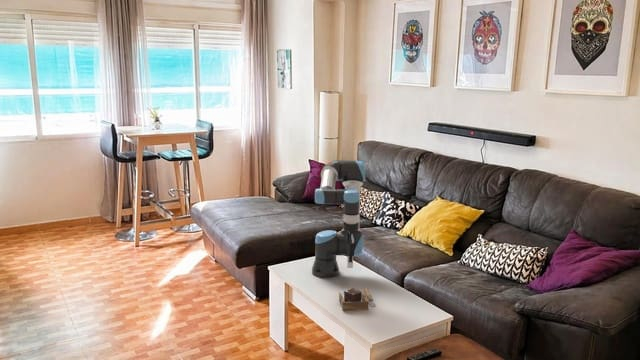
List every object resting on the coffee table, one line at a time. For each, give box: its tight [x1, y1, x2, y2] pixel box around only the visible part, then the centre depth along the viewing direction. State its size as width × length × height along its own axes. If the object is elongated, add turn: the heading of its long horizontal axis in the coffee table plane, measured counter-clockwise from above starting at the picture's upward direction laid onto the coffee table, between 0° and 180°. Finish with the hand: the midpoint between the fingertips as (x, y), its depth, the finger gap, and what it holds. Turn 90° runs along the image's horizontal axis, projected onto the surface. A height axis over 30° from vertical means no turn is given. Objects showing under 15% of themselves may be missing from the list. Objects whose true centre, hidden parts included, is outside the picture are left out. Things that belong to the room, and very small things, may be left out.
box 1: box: [343, 287, 363, 302], centre depth 244 cm, size 6×6×7 cm
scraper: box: [363, 287, 376, 308], centre depth 252 cm, size 17×2×2 cm, turn 7°
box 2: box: [338, 291, 369, 312], centre depth 246 cm, size 12×12×4 cm
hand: (349, 267), depth 255 cm, fingers closed
